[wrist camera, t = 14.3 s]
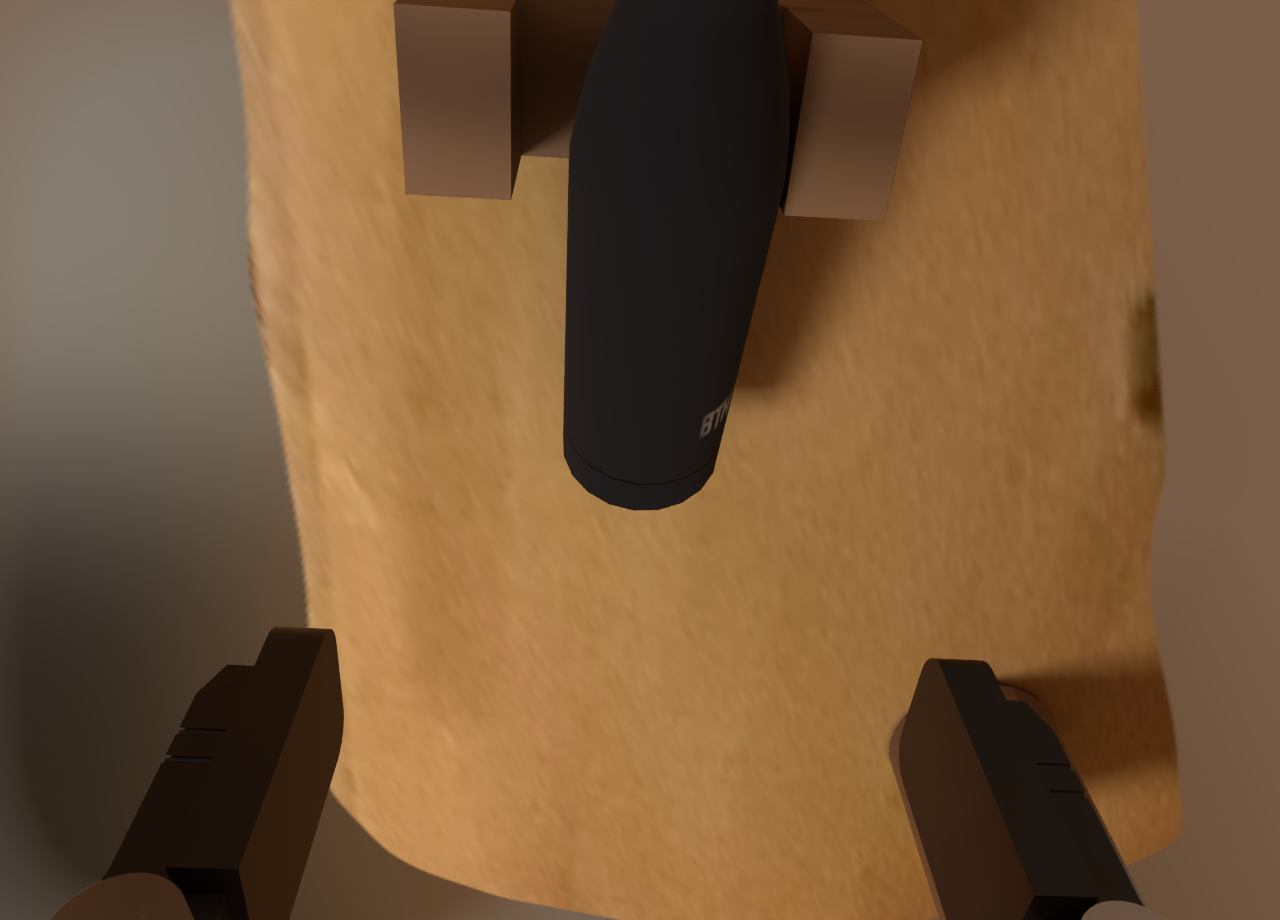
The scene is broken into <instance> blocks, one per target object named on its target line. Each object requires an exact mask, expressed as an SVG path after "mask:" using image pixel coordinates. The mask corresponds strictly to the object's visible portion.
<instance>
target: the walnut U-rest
mask: <svg viewBox="0 0 1280 920" xmlns="http://www.w3.org/2000/svg"><path fill="white" fill-rule="evenodd" d="M615 1H616V0H397V1H396V2H395V3H394V19H395V34H396V50H397V66H398V81H399V97H400V112H401V128H402V143H403V159H404V175H405V190H406V194H412V195H430V196H448V197H465V198H483V199H501V200H511V198H512V194H513V189H514V185H515V181H516V176H517V172H518V167H519V163H520V159H521V155H523V156H540V157H557V158H569V144H570V140H571V135H572V130H573V125H574V121H575V116H576V111H577V107H578V103H579V99H580V96H581V92H582V88H583V85H584V81H585V77H586V73H587V70H588V66H589V64H590V61H591V59H592V56H593V54H594V51H595V49H596V46H597V44H598V42H599V39H600V37H601V34H602V32H603V29H604V27H605V24H606V22H607V20H608V17H609V15H610V13H611V10H612V8H613V6H614V3H615ZM778 5H779V12H780V19H781V26H782V34H783V41H784V48H785V56H786V64H787V72H788V80H789V88H790V138H789V157H788V172H787V176H786V180H785V184H784V188H783V192H782V196H781V200H780V204H779V206H780V208H781V210H782V212H783V214H784V215H786V216H803V217H821V218H839V219H857V220H875V221H884V218H885V214H886V209H887V205H888V200H889V195H890V191H891V186H892V181H893V177H894V172H895V167H896V163H897V158H898V153H899V149H900V144H901V139H902V135H903V130H904V125H905V121H906V116H907V111H908V107H909V102H910V97H911V93H912V88H913V84H914V79H915V74H916V70H917V65H918V60H919V56H920V51H921V46H922V42H923V40H921V39H920V38H918V37H917V36H915V35H914V34H912V33H911V32H909V31H908V30H906V29H905V28H903V27H902V26H900V25H899V24H897V23H896V22H894V21H893V20H891V19H890V18H888V17H887V16H885V15H884V14H882V13H881V12H879V11H878V10H876V9H875V8H873V7H872V6H870V5H869V4H867V3H866V2H864V1H863V0H778Z"/></svg>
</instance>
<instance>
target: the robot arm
mask: <svg viewBox="0 0 1280 920" xmlns="http://www.w3.org/2000/svg"><path fill="white" fill-rule="evenodd" d="M343 724H344V710H343V700H342V691H341V682H340V672H339V663H338V654H337V645H336V637H335V634H334V631H333V630H332V629H318V628H295V627H274V628H273V629H271V631H270V632H269V634H268V636H267V638H266V641H265V643H264V645H263V647H262V650H261V652H260V654H259V657H258V659H257V661H256V663H255V665H254V666H244V665H227V666H226V667H224V668H223V669H222V670H221V671H220V672H219V673H218V674H217V675H216V676H215V677H214V678H213V679H212V680H210V681H209V682H208V683H207V684H206V685H205V686H204V687H203V688H202V689H201V690H200V691H198V692H197V694H196V695H195V697H194V699H193V701H192V703H191V705H190V707H189V709H188V711H187V713H186V715H185V717H184V719H183V721H182V723H181V725H180V727H179V730H180V731H179V734H176V735H175V737H174V739H173V741H172V743H171V745H170V747H169V750H168V752H167V753H166V759H165V762H164V763H163V762H162V763H161V766H160V767H159V769H158V772H157V773H156V775H155V778H154V780H153V781H152V783H151V785H150V787H149V789H148V792H147V794H146V796H145V798H144V800H143V802H142V804H141V806H140V808H139V810H138V812H137V814H136V816H135V818H134V820H133V822H132V824H131V826H130V828H129V830H128V832H127V834H126V836H125V838H124V840H123V842H122V844H121V846H120V848H119V850H118V852H117V854H116V856H115V858H114V860H113V862H112V864H111V866H110V867H109V869H108V871H107V873H106V874H105V876H104V877H103V879H102V880H101V881H100V882H97V883H95V884H93V885H91V886H90V887H88V888H86V889H84V890H82V891H81V892H79V893H78V894H77V895H75V896H74V897H72V898H71V899H70V900H69V901H68V902H66V903H65V904H64V905H63V906H62V907H61V908H60V909H59V910H58V911H57V912H56V914H55V915H54V916H53V917H52V918H51V920H289V919H290V915H291V912H292V909H293V905H294V902H295V899H296V896H297V892H298V889H299V886H300V883H301V879H302V876H303V873H304V869H305V866H306V863H307V859H308V856H309V853H310V849H311V846H312V843H313V840H314V836H315V833H316V829H317V827H318V823H319V820H320V817H321V813H322V810H323V806H324V803H325V800H326V797H327V794H328V790H329V787H330V784H331V780H332V777H333V774H334V771H335V767H336V764H337V761H338V757H339V753H340V748H341V743H342V735H343ZM889 757H890V760H891V764H892V768H893V771H894V774H895V777H896V781H897V784H898V787H899V790H900V793H901V797H902V800H903V803H904V806H905V810H906V813H907V817H908V820H909V823H910V827H911V830H912V833H913V836H914V839H915V843H916V846H917V849H918V852H919V855H920V859H921V862H922V865H923V868H924V871H925V875H926V878H927V881H928V884H929V887H930V891H931V894H932V897H933V900H934V903H935V907H936V910H937V913H938V916H939V919H940V920H1168V919H1166V918H1165V917H1163V916H1162V915H1160V914H1158V913H1157V912H1154V911H1152V910H1150V909H1148V908H1147V906H1146V904H1145V902H1144V900H1143V898H1142V897H1141V894H1140V892H1139V890H1138V889H1137V886H1136V884H1135V883H1134V881H1133V879H1132V877H1131V875H1130V873H1129V871H1128V869H1127V867H1126V865H1125V863H1124V861H1123V859H1122V857H1121V855H1120V853H1119V851H1118V849H1117V847H1116V845H1115V843H1114V841H1113V839H1112V837H1111V835H1110V833H1109V831H1108V829H1107V827H1106V825H1105V823H1104V821H1103V820H1102V818H1101V816H1100V814H1099V812H1098V810H1097V808H1096V806H1095V804H1094V802H1093V800H1092V798H1091V796H1090V794H1089V792H1088V790H1087V788H1086V786H1085V784H1084V782H1083V780H1082V778H1081V776H1080V774H1079V772H1078V770H1077V768H1076V766H1075V764H1074V762H1073V760H1072V758H1071V756H1070V754H1069V752H1068V750H1067V748H1066V746H1065V744H1064V742H1063V740H1062V738H1061V736H1060V734H1059V732H1058V731H1057V729H1056V727H1055V725H1054V723H1053V721H1052V719H1051V717H1050V715H1049V713H1048V711H1047V709H1046V707H1045V706H1044V705H1043V704H1042V703H1041V702H1040V701H1039V700H1038V699H1037V698H1036V697H1034V696H1032V695H1031V694H1029V693H1028V692H1026V691H1023V690H1020V689H1017V688H1014V687H1010V686H1004V685H999V683H998V681H997V679H996V677H995V675H994V672H993V670H992V669H991V667H990V666H989V664H988V663H986V662H985V661H979V660H957V659H935V658H931V659H928V660H927V661H926V662H925V664H924V666H923V669H922V671H921V674H920V678H919V681H918V684H917V687H916V690H915V693H914V696H913V699H912V702H911V705H910V708H909V711H908V715H907V716H906V717H905V718H904V719H903V720H902V721H901V722H900V724H899V725H898V727H897V728H896V729H895V731H894V733H893V736H892V738H891V741H890V746H889Z"/></svg>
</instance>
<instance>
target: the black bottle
mask: <svg viewBox="0 0 1280 920" xmlns="http://www.w3.org/2000/svg"><path fill="white" fill-rule="evenodd" d="M789 138H790V88H789V80H788V72H787V64H786V56H785V48H784V41H783V34H782V26H781V19H780V12H779V5H778V0H616V1H615V3H614V6H613V8H612V10H611V13H610V15H609V17H608V20H607V22H606V24H605V27H604V29H603V32H602V34H601V37H600V39H599V42H598V44H597V46H596V49H595V51H594V54H593V56H592V59H591V61H590V64H589V66H588V70H587V73H586V77H585V81H584V85H583V88H582V92H581V96H580V99H579V103H578V107H577V111H576V116H575V121H574V125H573V130H572V135H571V140H570V144H569V184H568V232H567V280H566V328H565V376H564V424H563V443H564V457H565V459H566V462H567V464H568V466H569V469H570V471H571V473H572V475H573V476H574V477H575V479H576V480H577V481H578V482H579V483H580V484H581V485H582V486H583V487H584V488H585V489H586V490H587V491H588V492H589V493H591V494H592V495H594V496H596V497H598V498H599V499H601V500H603V501H605V502H606V503H608V504H611V505H614V506H618V507H622V508H626V509H630V510H660V509H663V508H666V507H670V506H673V505H676V504H680V503H682V502H684V501H685V500H687V499H688V498H690V497H691V496H693V495H694V494H696V493H697V492H698V491H700V490H701V489H702V487H703V486H704V485H705V483H706V482H707V480H708V479H709V478H710V476H711V475H712V474H713V471H714V467H715V463H716V459H717V455H718V451H719V447H720V443H721V439H722V435H723V431H724V427H725V423H726V419H727V415H728V411H729V407H730V403H731V398H732V394H733V390H734V386H735V382H736V378H737V374H738V370H739V366H740V362H741V358H742V354H743V350H744V346H745V342H746V338H747V334H748V330H749V326H750V322H751V318H752V314H753V310H754V306H755V301H756V297H757V293H758V289H759V285H760V281H761V277H762V273H763V269H764V265H765V261H766V257H767V253H768V249H769V245H770V241H771V237H772V233H773V229H774V225H775V221H776V217H777V213H778V209H779V204H780V200H781V196H782V192H783V188H784V184H785V180H786V176H787V172H788V157H789Z"/></svg>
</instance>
